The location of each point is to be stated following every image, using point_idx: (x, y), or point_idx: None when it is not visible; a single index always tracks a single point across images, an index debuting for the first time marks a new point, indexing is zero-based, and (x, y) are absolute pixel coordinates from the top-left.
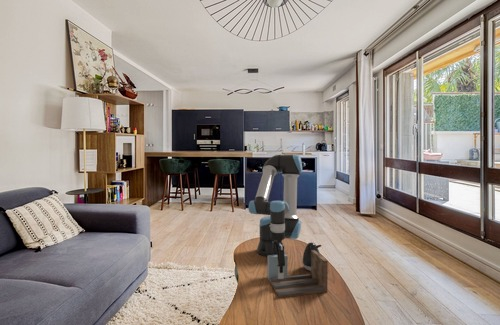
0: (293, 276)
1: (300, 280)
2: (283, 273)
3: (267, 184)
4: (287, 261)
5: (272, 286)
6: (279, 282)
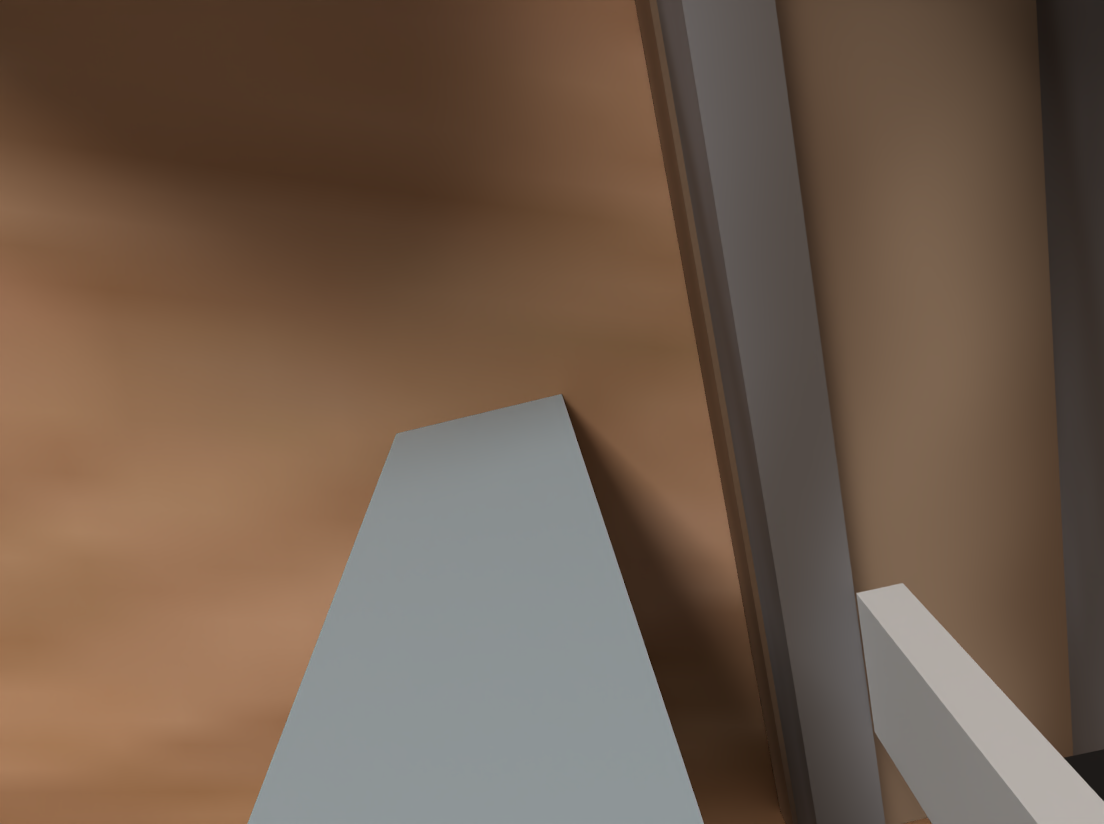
0: (772, 244)
1: (849, 5)
2: (986, 679)
3: None
4: (665, 725)
5: None
6: None
